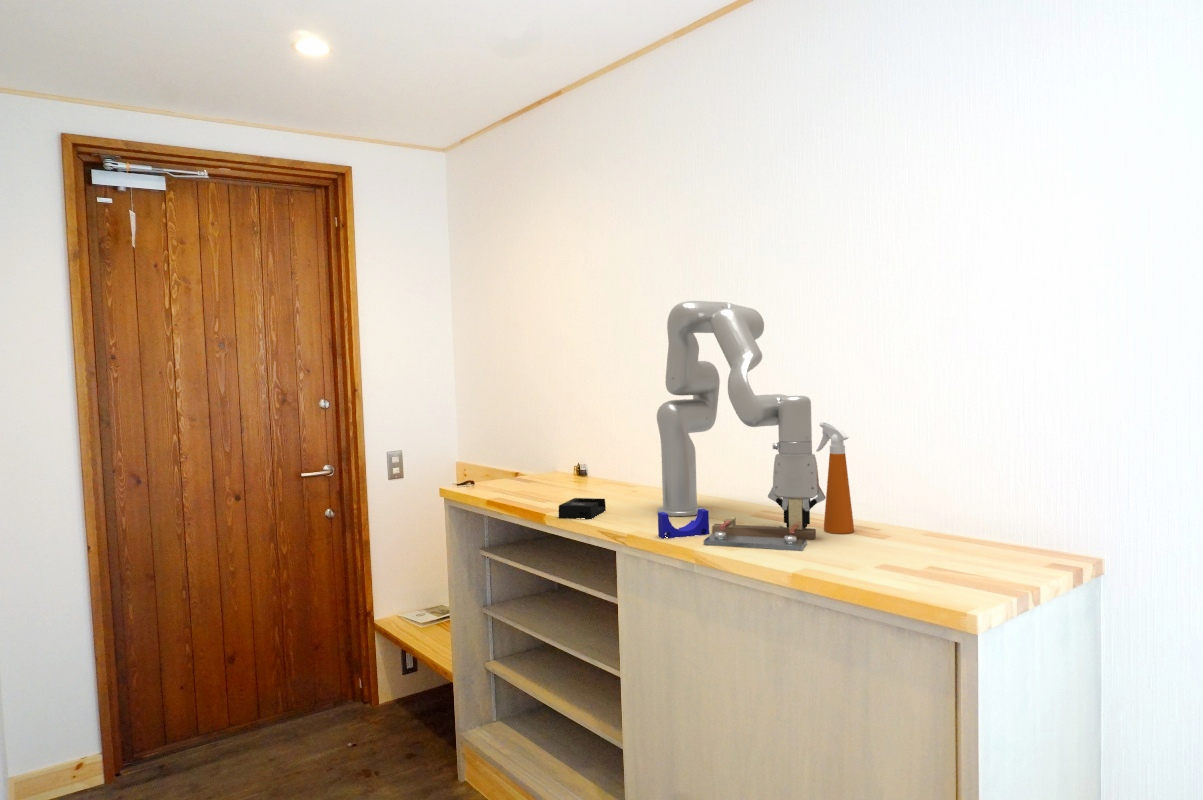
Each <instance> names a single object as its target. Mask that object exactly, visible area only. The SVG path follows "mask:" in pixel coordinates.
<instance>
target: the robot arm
mask: <svg viewBox="0 0 1203 800" xmlns="http://www.w3.org/2000/svg"><path fill="white" fill-rule="evenodd" d="M666 323H667V324H666V325H667V326H666V329H667V331H666V332H667V338H668V339H667V340H668V346H667V347H668V348H667V357H666V370H665V389H666V390H667V392H668V393H669V394H671V395H673V396H674V395H675V396H681V397H682V396H692V398H690V399H688V398H687V399H685V398H684V399H672V400H668V401H665V402H663V403H662V404H661V405H660V406H659V407H658V409H657V412H656V423H657V427H658V432H659V437H660V449H661V451H660V452H661V455H660V456H661V457H660V458H661V478H662V479H661V480H662V481H661V482H662V483H661V485H662V487H661V488H662V506H659V507H658V508H657V514H658V513H659V512H664V513H667V514H668V517H686V516H687V517H689V516H695V515H696V516H697V513H698V509H704V508H703V507H702V506H699V505H698V502H697V501H698V500H697V499H698V498H697V497H698V496H697V495H698V493H697V491H698V490H697V459H696V458H697V457H696V456H697V455H696V447H695V444H694V442H693V440H692V438H691V436H690V434H692V433H694V434H695V433H703V432H707V431H709V430H711V429H712V428H713V426H714V424H715V422H716V419H717V415H718V414H717V413H718V404H719V403H718V402H719V394H720V381H721V380H720V375H719V371H718V369H717V367H716V366H715V364H713V363H712V362H710V361H706V360H699V354H700V345H699V341H698V340H697V336H696V335H695V334H699V333H700V334H714V336H715V339H716V341H717V344H718V345H719V348H720V349H721V352H722V353H723V355H724V357H725V359H726V362H727V364H728V366H729V368H730V371H729V374H728V379H727V395H728V399H729V402H730V403H731V405H732V407H733V410H734V412H735V414H736V415H737V417H738V419H739V420H740V422H742V424H744V425H745V426H747V427H749V428H750V427H751V428H760V427H774V426H775V427H776V426H778V427H777V428H778V429H777V430H778V441H777V442H776V443H772V450H777V452H778V453H777V454H775V457H774V462H773V474H772V487H771V489H770V491H769V493H768V495H767V498H768V499H770V500H771V501H773V502H775V503H776V504H777V505H778V506H779V507H780V508H781V509H782V510H783V523H784V524H786V525H785V527H789V502H788V499H789V498H803V502H804V508H803V511H802V526H803V528H807V527H808V525H810V523H811V512H810V511H811V509H812V508H814V507H815V505H817V504H819V503H821V502H823V501H826V495H825V494H824V491H823V489H822V488H821V487H820V482H819V481H820V479H819V470H818V463H817V457H816V455H815V453H813V438H812V437H813V434H812V432H813V431H812V430H813V429H812V401H811V399H810V398H809V397H808V396H805V395H786V394H779V393H777V394H776V393H774V394H758V395H755V393H754V391H753V389H752V387H751V385H750V382H749V379H748V373H749V372H750V371H751V370H753V369H755V368H756V367H757V366H758V365H759V364H760V363H761V361H763V353H762V351H761V349H760V347H759V345H758V343H757V341H756V340H758V339H759V338H760V337H761V336H762V335H763V334H764V331H765V321H764V318H763V316H762V315H761V313H760V312H759V311H758V310H756V309H754V308H751V307H748V306H747V307H746V306H743V305H738V304H735V303H730V302H725V301H708V300H707V301H705V300H687V301H682V302H679V303H677V304H676V305H675V306H673V307H672V309H671V310H670V311H669V314H668V317H667V322H666Z"/></svg>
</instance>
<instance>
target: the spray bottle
mask: <svg viewBox="0 0 1203 800" xmlns="http://www.w3.org/2000/svg"><path fill="white" fill-rule="evenodd" d="M819 427H820V428H822V438H821V441H820V443H819V445H818V446H817V449H816V450H815V452H820V451H821V450H823V449H824V448H825V446H826V445H827V444H828V442H829V441H830V445H829V457H828V469H827V470H828V471H827V481H826V495H825V497H826V498H825V507H824V508H825V509H824V517H823V518H824V520H823V531H824V532H826V533H830V534H835V535H836V534H837V535H846V534H851V533H854V532H855V525H854V518H853V517H854V516H853V508H852V501H851V491H850V482H849V481H850V480H849V474H848V464H847V457H846V455H847V454H846V445H845V443H844V441H847V440H848V439H849V436H848V435H847V433H846V432H845V431H844V430H843V429H841V428H839V427H838V426H837V425H834V424H833V423H831V422H829V421H820V422H819Z"/></svg>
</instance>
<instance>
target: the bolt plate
mask: <svg viewBox="0 0 1203 800" xmlns="http://www.w3.org/2000/svg"><path fill="white" fill-rule="evenodd" d="M807 543H808V542H807V539H796V536H792V535H788V536H784V538H771V537H753V536H735V535H726V532H715V533H714V534H709V536H707V537H706V538H705V539H704V540H703V546H716V547H717V546H718V547H735V548H752V549H766V550H767V549H769V550H783V551H784V550H785V551H799V552H802V551H803V550H804V548H805V547H806V545H807Z"/></svg>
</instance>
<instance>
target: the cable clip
mask: <svg viewBox="0 0 1203 800" xmlns="http://www.w3.org/2000/svg"><path fill="white" fill-rule="evenodd" d="M709 513H710V512H709V509H705V508H703V509H698V513H697V515H696V517H695V519H694V520H693V519H692V520H691V521H689V522H688V523H687V524H686V525H684V526H682V527H678V528H676V527H675V526H673V525H672V523H671V521H670V518H669V517H670V516H668V514H667V513H664V512H659V513H658V512H657V531H658V532H657V533H658V534H657V535H658V536H659V538H660V537H661V538H660V539H662V540H665V539H664V538H666V537H668V539H676V538H675V537H679V538H686V537H687V536H689V537H696V536H695V535H699V536H705V535H706V534H709V535H710V522H709V521H710V516H709V515H710V514H709ZM665 536H666V537H665Z"/></svg>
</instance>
